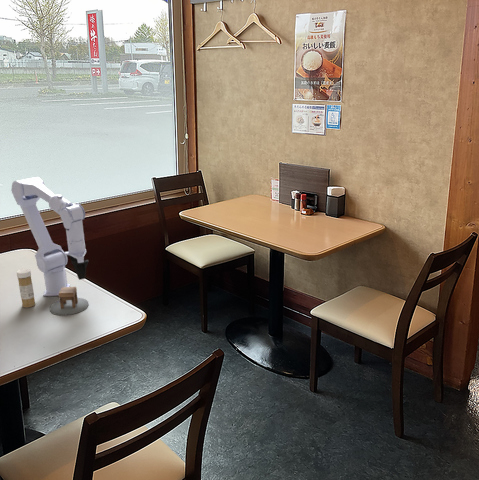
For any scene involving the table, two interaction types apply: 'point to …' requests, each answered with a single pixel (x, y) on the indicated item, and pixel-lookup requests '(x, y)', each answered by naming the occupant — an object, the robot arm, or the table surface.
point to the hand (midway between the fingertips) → (80, 275)
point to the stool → (68, 296)
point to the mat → (69, 307)
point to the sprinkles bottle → (26, 287)
